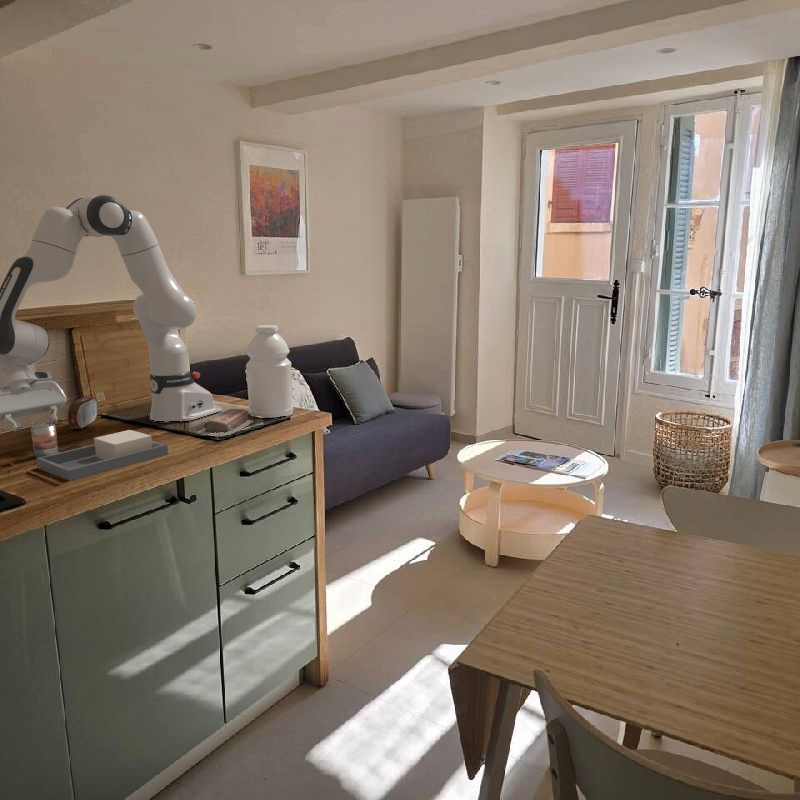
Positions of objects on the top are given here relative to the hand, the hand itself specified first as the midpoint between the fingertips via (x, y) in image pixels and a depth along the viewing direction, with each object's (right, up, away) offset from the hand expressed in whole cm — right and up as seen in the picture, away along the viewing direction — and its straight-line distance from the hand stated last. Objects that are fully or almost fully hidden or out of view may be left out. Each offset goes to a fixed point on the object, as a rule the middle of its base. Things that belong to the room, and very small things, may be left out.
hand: (36, 425), depth 188 cm
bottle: (+54, +2, +41) cm, 68 cm away
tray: (+20, -9, -7) cm, 23 cm away
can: (+3, -8, 0) cm, 8 cm away
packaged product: (+44, -2, +24) cm, 50 cm away
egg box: (+24, -8, -3) cm, 25 cm away
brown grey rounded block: (0, -1, +30) cm, 30 cm away
